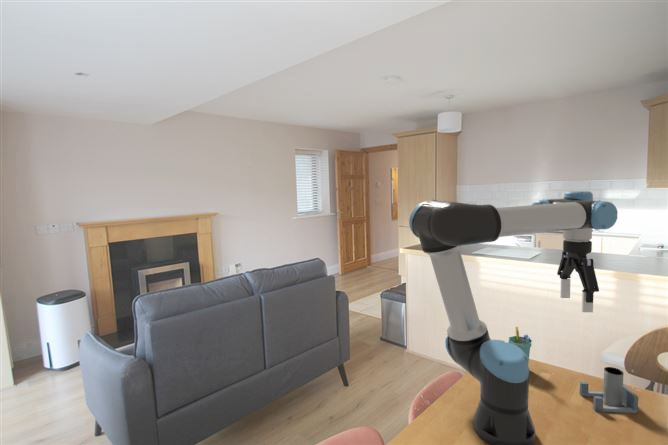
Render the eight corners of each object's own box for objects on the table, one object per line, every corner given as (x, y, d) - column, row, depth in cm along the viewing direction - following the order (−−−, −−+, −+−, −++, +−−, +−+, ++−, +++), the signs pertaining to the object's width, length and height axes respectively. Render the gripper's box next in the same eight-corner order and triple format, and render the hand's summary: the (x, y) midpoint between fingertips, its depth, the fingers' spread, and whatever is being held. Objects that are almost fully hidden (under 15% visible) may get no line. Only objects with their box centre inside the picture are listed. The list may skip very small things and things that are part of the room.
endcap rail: (595, 411, 103) (595, 395, 102) (579, 394, 111) (579, 378, 111) (637, 413, 101) (638, 396, 101) (618, 395, 109) (618, 380, 109)
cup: (542, 380, 119) (542, 338, 118) (518, 380, 120) (518, 338, 118) (522, 360, 133) (523, 321, 132) (501, 360, 134) (501, 322, 132)
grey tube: (614, 409, 103) (615, 375, 102) (599, 400, 108) (600, 368, 106) (626, 406, 104) (627, 373, 103) (610, 397, 109) (612, 365, 108)
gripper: (615, 246, 100) (612, 319, 102) (570, 234, 124) (568, 292, 126) (586, 247, 101) (584, 318, 103) (547, 234, 125) (546, 292, 127)
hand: (575, 304), depth 115 cm, fingers open, 13 cm apart
